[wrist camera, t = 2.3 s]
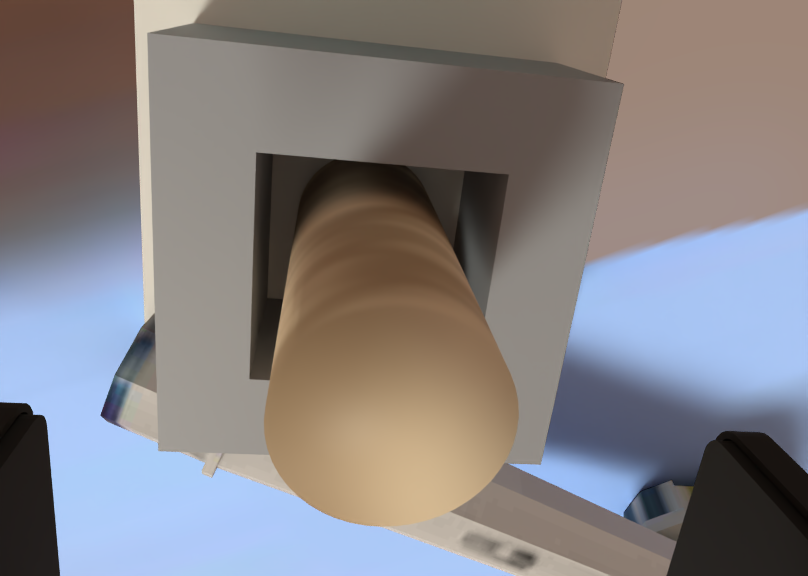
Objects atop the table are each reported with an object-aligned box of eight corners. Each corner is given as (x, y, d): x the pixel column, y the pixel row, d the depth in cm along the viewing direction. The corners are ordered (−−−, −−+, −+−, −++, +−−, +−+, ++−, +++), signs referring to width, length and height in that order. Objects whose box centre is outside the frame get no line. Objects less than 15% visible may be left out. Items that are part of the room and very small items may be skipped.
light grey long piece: (128, 328, 19) (891, 662, 22) (208, 243, 25) (796, 513, 28) (79, 468, 21) (783, 756, 24) (163, 357, 27) (716, 598, 30)
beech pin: (439, 158, 21) (539, 317, 11) (423, 284, 22) (497, 529, 12) (301, 146, 20) (268, 300, 10) (294, 275, 22) (259, 523, 12)
